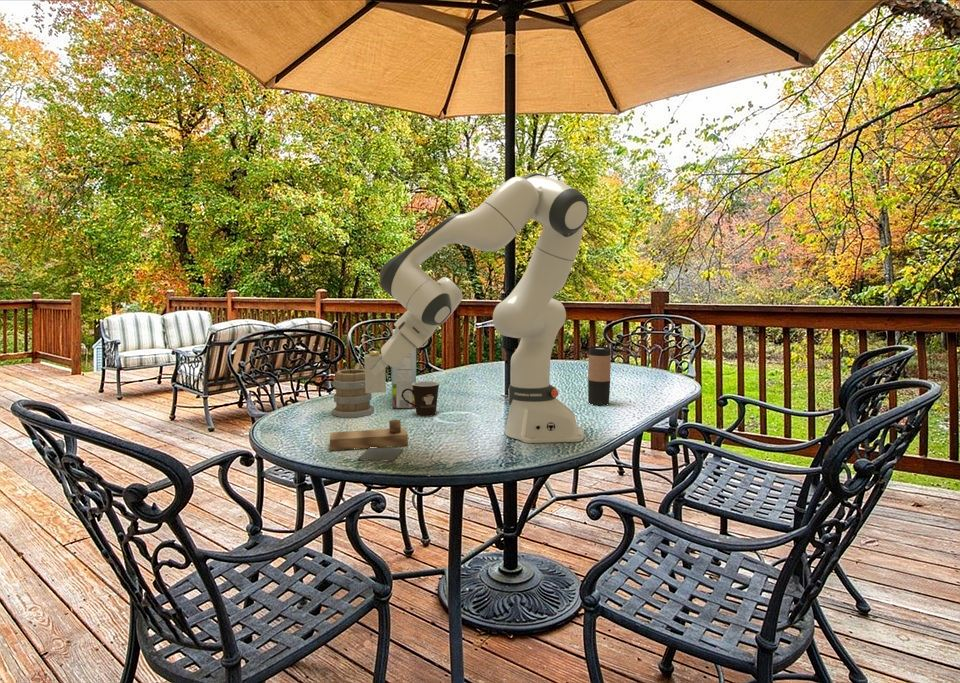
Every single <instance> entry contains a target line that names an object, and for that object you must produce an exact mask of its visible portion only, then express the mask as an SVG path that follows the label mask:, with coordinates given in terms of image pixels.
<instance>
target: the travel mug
mask: <svg viewBox="0 0 960 683" xmlns="http://www.w3.org/2000/svg"><path fill="white" fill-rule="evenodd" d="M611 349H612V348H611V347H609V346H603V345H602V346H600V345H599V346H597V345H596V346H589V347H588V370H587V372H588V373H587V375H588V376H587V394H588V395H587V398H588V401H587V402H588V404H589V403H590V404H593V405H592V406H594V405H607V404H609V405H610V393H611V392H610V391H611V366H612V365H611V364H612V363H611V360H612V359H611V358H612V357H611V356H612V354H611V353H612V351H611ZM590 404H589V405H590ZM607 406H608V405H607Z"/></svg>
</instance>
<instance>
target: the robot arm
mask: <svg viewBox="0 0 960 683" xmlns="http://www.w3.org/2000/svg"><path fill="white" fill-rule="evenodd" d="M589 204H590V203H589V201H588V199H587V197H586V196H585V195H584V194H583V193H582V192H581V191H580V190H578V189H576V188H573V187H572V186H570V185H568V184H567V183H565V182H563V181H561V180H558V179H555V178H551V177H548V176H546V175H545V174H542V173H537V172H536V173H535V172H531V173H530V172H529V173H527V174H524V175H523V176H513V177H511V178H509V179H508V180H506V181H505V182H503V183H502V184H501V185H500V186H499V187H497V188H496V189H495V190H494V191H493V192H491V194H489V195H488V197H486V199H485V200H484V201H483V202H481V204H480V205H479V206H477V207H475V208H474V209H473V210H470V211H469V212H466V213H459V212H457V213H453V214H451V215H450V216H448V217H447V218H446V219H444V220H442V221H441V222H439V224H437V225H436V226H434V227H433V228H431V229H430V230H429V231H427V232H426V233H425V234H424V235H423V236H422V237H420V238H419V239H418V240H416V241H415V242H413V244H411V245H410V246H409V247H408V248H406V249H405V250H403V251H402V252H400V253H398V254H396V255H395V256H393V257H391V258H390V259H389V260H388V261H386V262H385V263H384V265H383V266H382V267H381V269H380V272H379V281H380V288H381V289H382V291H384V292H385V293H386V294H388V295H389V296H390V297H391V298H394V299H395V300H396V301H397V302H398V303H399V304H400V305H402V307H404V309H405V310H406V311H405V312H404V313H403V314H402V315H401V316H400V317H399V318H398V319H397V320H396V321H395V322H394V323H393V325H394V326H395V329H396V330H395V331H394V332H393V334H394V335H393V336H392V335H391V337H390V338H389V339H388V340H387V341H386V342H385V343H384V344H383V345H382V346H381V348H380V354H381V355H382V359H381V360H380V361H379V362H378V364H377V365H376V366H374V368H373V369H372V370H371V373H372V374H373V375H375V376H377V375H378V374H379V373H380V372H381V371H382V370H383V369H385V370H386V368H387V367H388V366H389V367H390V368H392V367H394V366H396V365H397V364H398V363H400V362H401V361H402V360H403V359H404V358H405V357H406V356H408V355H409V354H410V353H411V352H412V351H413V350H414V349H415V347H416V349H420V348H421V347H422V346H423V345H424V344H425V343H426V342H427V341H428V340H429V339H430V338H431V337H432V335H433V334H434V333H435V331H436V330H437V328H438V327H439V326H441V325H443V324H444V323H445V322H446V321H447V320H448V319H449V317H450V316H451V315H452V314H453V313H454V311H456V309H457V308H458V307H459V305H460V303H461V302H462V300H463V299H464V297H463V292H462V290H461V289H460V287H459V286H458V285H457V284H456V283H455V282H454V281H453V279H451V278H449V277H447V276H443V277H441V278H440V279H438V280H437V281H436V280H435V279H433V278H432V277H431V276H430V275H429V274H428V273H427V272H425V270H423V269H422V268H421V265H422V264H423V263H424V262H425V261H426V260H428V259H429V258H431V257H432V256H434V254H435V253H437V252H438V251H440V250H441V249H442V248H443V247H445V246H447V245H452V244H457V245H462V246H466V247H469V248H471V249H475V250H478V251H481V252H487V253H488V252H489V253H490V252H496V251H500V250H502V249H503V248H505V247H506V246H507V245H508V244H509V243H510V242H511V241H513V239H514V238H515V237H516V236H517V235H518V234H519V232H520V231H522V229H524V227H525V226H526V224H528V221H530V220H532V219H533V220H534V221H535V222H537V223H538V224H542V230H541V232H540V234H539V236H538V239H537V241H536V244H535V246H534V250H533V252H532V255H531V257H530V260H529V262H528V265H527V267H526V270H525V271H524V274H523V275H522V276H521V278H520V279H519V281H518V283H517V284H516V285H515V287H514V288H513V289H512V290H511V292H510V294H509V295H507V297H505V298H504V299H503V300H501V301H500V302H499V303H498V304H496V306H495V308H494V309H493V313H492V323H493V326H494V328H495V331H497V333H499V334H500V335H501V336H504V337H506V338H507V337H509V338H515V339H520V341H519V344H518V346H517V348H516V350H514V352H513V353H512V355H511V356H510V357H511V358H510V376H509V377H510V384H509V385H508V390H507V391H508V398H507V399H508V400H507V401H508V405H509V408H508V409H509V410H508V415H507V422H506V425H505V428H504V429H505V430H504V435H505V436H507V437H509V438H511V439H515V440H518V441H521V442H523V443H525V444H534V443H535V444H536V443H537V444H539V443H542V444H543V443H577V442H580V441H583V440H584V439H585V431H584V429H583V428H582V427H581V426H578V424H577V420H576V416H575V414H574V411H573V410H572V409H571V408H569V407H568V406H566V405H565V404H564V403H563V402H562V401H560V399H558V396H559V390H558V388H556V386H553V385H552V384H550V383H551V382H550V379H551V378H550V374H551V358H552V353H553V352H552V351H553V348H554V344H555V341H556V338H557V335H558V333H559V331H560V330H561V328H562V327H563V326H564V325H565V322H566V319H567V312H566V311H567V310H566V308H565V306H564V305H563V303H562V302H561V301H560V300H558V299H555V298H553V297H554V296H555V295H556V294H557V293H558V292H559V291H560V290H562V289H563V287H564V286H565V285H566V282H567V280H568V278H569V275H570V273H571V270H572V267H573V265H574V264H575V260H576V258H577V255H578V252H579V249H580V246H581V242H582V238H583V232H584V224H585V223H586V222H587V219H588V216H589V208H590V207H589Z"/></svg>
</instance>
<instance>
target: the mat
mask: <svg viewBox="0 0 960 683" xmlns="http://www.w3.org/2000/svg"><path fill="white" fill-rule="evenodd" d="M403 451H404V448H395V447H394V448H393V447H391V448H390V447H382V448H368V449H366V450H365V451H364V452H363V453H362V454H361V455H360V456H359V457H358V458H357V460H358V459H368V460H388V461H387V462H391V461H394V460H395V459H396V460H397V458H398V457H399V456H400V455H401V454H402V453H403ZM400 453H401V454H400ZM399 454H400V455H399ZM398 455H399V456H398ZM397 456H398V457H397ZM396 457H397V458H396ZM396 460H395V461H396ZM395 461H394V462H395Z"/></svg>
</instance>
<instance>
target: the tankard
mask: <svg viewBox="0 0 960 683" xmlns="http://www.w3.org/2000/svg"><path fill="white" fill-rule="evenodd" d="M362 367H363V366H362V364H361V363H360V362H357V363H356V364H355V367H354V368H348V369H339V370H337V371H336V372H335V373H334V374H335V379H334V380H333V381H332V383H333V388H335V393H334V394H333V401H334V403H336V404H335V407H333V409H332V410H331V415H332V416H335V417H338V418H341V419H345V418H346V419H347V418H350V419H351V418H352V419H355V418H358V419H359V418H361V417H367V416H371V415H372V413H373V412H375V406H374V405H371V403H370V402H371V400H372V394H373V393H366V392H365V368H364V369H362Z"/></svg>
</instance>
